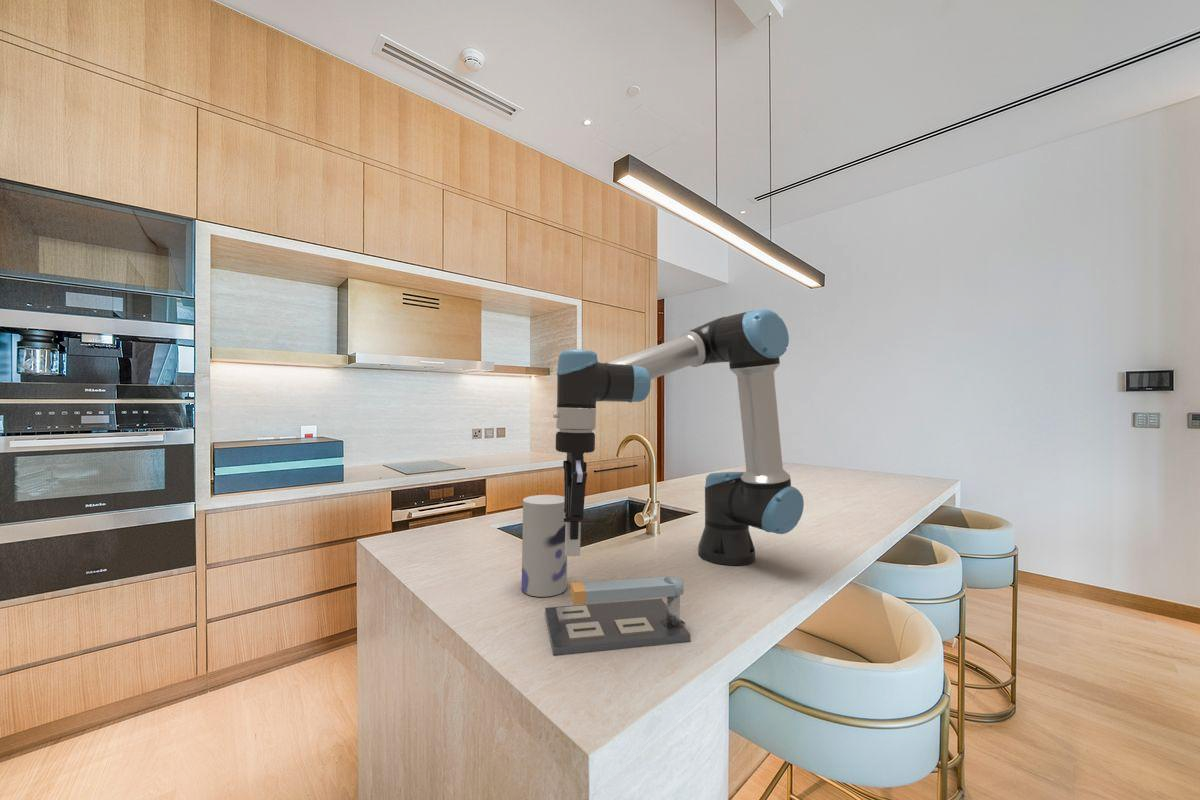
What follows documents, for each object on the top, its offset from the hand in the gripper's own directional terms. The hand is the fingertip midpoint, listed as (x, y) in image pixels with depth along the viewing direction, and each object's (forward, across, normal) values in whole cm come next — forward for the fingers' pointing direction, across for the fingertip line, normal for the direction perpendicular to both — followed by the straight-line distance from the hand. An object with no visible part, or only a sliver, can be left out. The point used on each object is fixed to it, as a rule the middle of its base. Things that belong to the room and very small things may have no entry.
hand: (572, 554), depth 87 cm
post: (+12, +7, +18) cm, 23 cm away
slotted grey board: (+12, +4, +8) cm, 15 cm away
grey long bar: (+6, +7, +9) cm, 13 cm away
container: (+13, -16, -4) cm, 21 cm away
